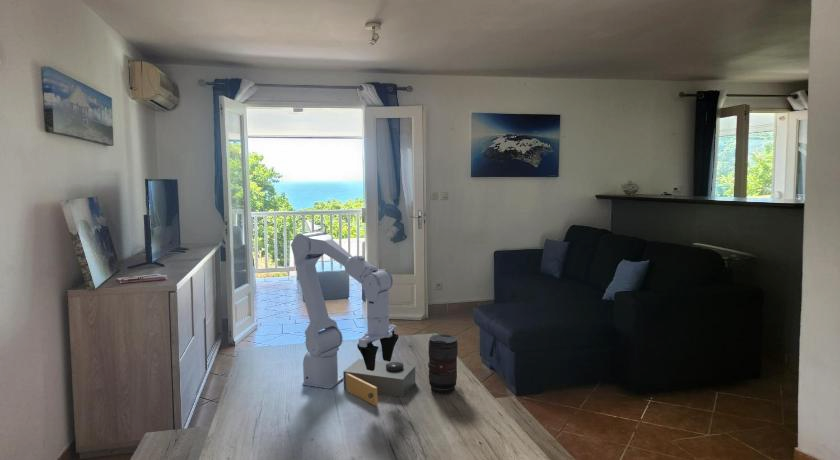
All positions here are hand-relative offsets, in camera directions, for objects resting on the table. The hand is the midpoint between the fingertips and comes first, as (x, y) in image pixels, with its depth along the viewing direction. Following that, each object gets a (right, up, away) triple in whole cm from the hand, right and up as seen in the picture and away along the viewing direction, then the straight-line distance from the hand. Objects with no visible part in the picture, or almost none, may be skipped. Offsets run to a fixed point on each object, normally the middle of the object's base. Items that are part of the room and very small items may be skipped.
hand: (378, 365), depth 140 cm
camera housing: (0, -8, +10) cm, 13 cm away
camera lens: (+18, -9, +7) cm, 21 cm away
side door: (-5, -9, +1) cm, 11 cm away
